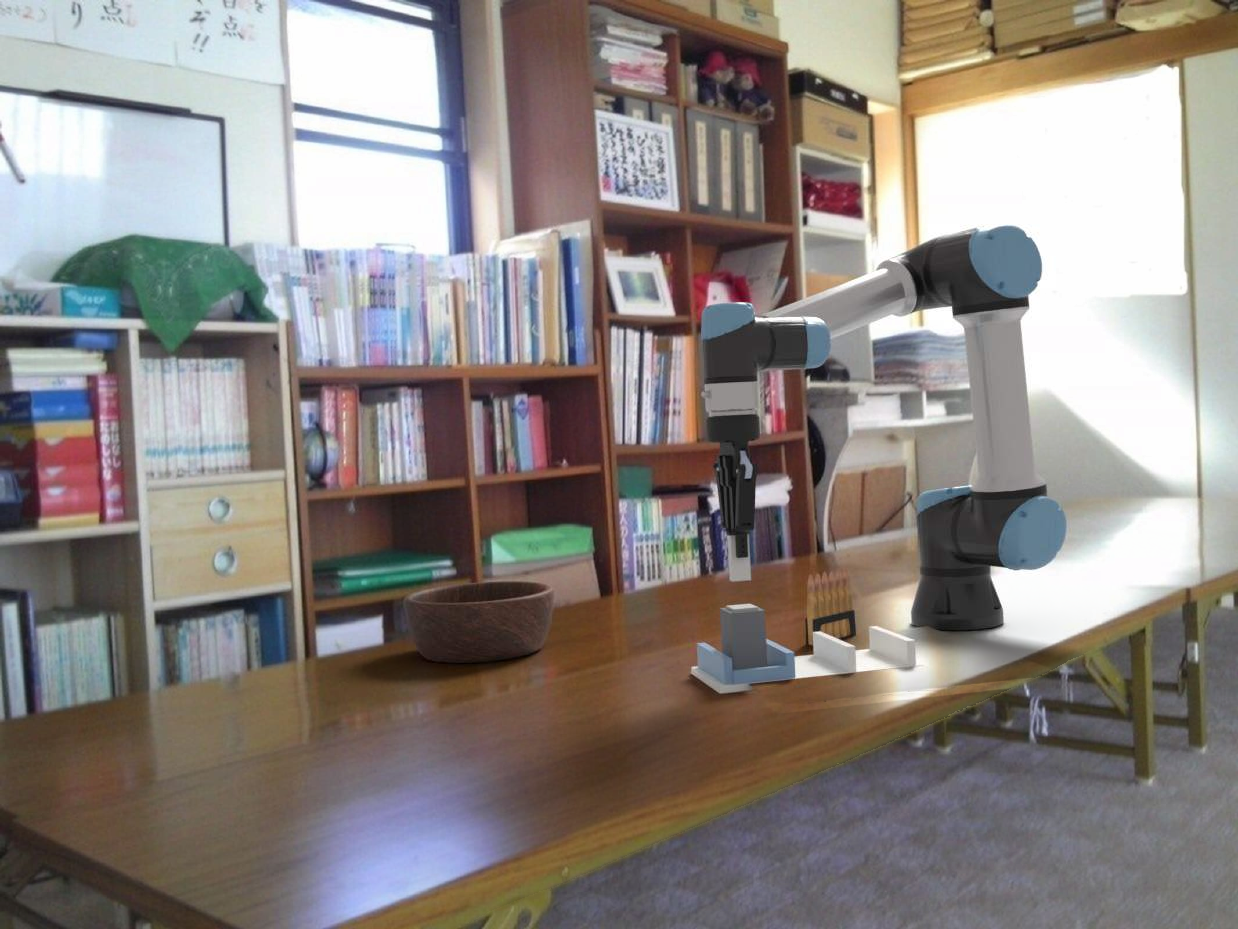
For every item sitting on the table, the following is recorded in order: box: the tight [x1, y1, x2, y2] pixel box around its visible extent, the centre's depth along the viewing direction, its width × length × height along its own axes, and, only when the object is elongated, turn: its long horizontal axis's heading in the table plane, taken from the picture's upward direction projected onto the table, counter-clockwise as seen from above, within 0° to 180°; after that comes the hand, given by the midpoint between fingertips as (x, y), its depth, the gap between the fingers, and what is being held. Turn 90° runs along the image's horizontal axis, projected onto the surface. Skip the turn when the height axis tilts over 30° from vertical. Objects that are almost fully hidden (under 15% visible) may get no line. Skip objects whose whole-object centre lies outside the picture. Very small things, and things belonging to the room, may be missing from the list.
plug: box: [719, 603, 768, 670], centre depth 177 cm, size 5×5×9 cm
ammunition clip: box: [804, 567, 857, 646], centre depth 198 cm, size 11×2×12 cm, turn 132°
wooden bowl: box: [403, 580, 555, 664], centre depth 209 cm, size 25×25×10 cm
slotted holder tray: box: [690, 625, 923, 694], centre depth 180 cm, size 30×14×4 cm, turn 103°
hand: (740, 580), depth 177 cm, fingers closed
